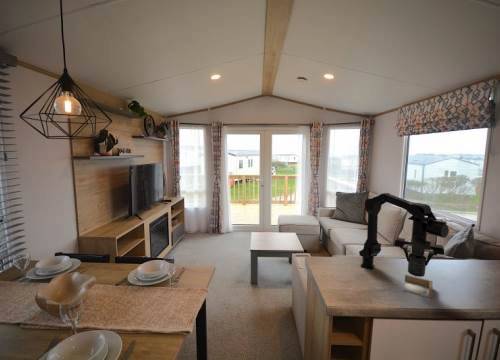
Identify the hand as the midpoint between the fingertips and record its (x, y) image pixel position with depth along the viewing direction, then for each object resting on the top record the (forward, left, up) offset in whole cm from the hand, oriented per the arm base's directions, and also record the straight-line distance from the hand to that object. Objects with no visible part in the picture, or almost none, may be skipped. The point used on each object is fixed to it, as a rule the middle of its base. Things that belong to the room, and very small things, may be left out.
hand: (416, 263), depth 114 cm
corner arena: (-1, +1, -13) cm, 13 cm away
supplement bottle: (0, 0, -5) cm, 5 cm away
